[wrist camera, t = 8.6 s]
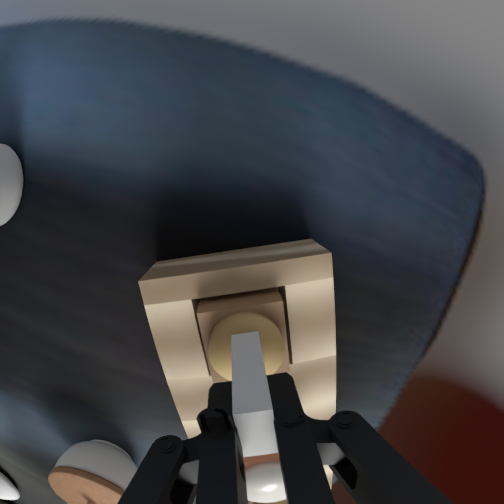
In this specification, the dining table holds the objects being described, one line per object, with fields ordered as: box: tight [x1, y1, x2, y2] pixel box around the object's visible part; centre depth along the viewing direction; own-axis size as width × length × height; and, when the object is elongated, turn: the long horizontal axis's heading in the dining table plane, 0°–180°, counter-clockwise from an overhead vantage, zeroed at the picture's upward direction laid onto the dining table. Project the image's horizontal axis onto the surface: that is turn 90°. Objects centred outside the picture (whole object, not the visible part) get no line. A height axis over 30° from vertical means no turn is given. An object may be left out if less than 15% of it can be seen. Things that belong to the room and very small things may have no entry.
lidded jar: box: [48, 439, 138, 504], centre depth 23 cm, size 11×11×9 cm
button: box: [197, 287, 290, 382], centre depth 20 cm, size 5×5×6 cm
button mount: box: [138, 239, 336, 504], centre depth 24 cm, size 29×12×5 cm, turn 8°
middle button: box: [243, 453, 286, 503], centre depth 19 cm, size 5×5×6 cm
